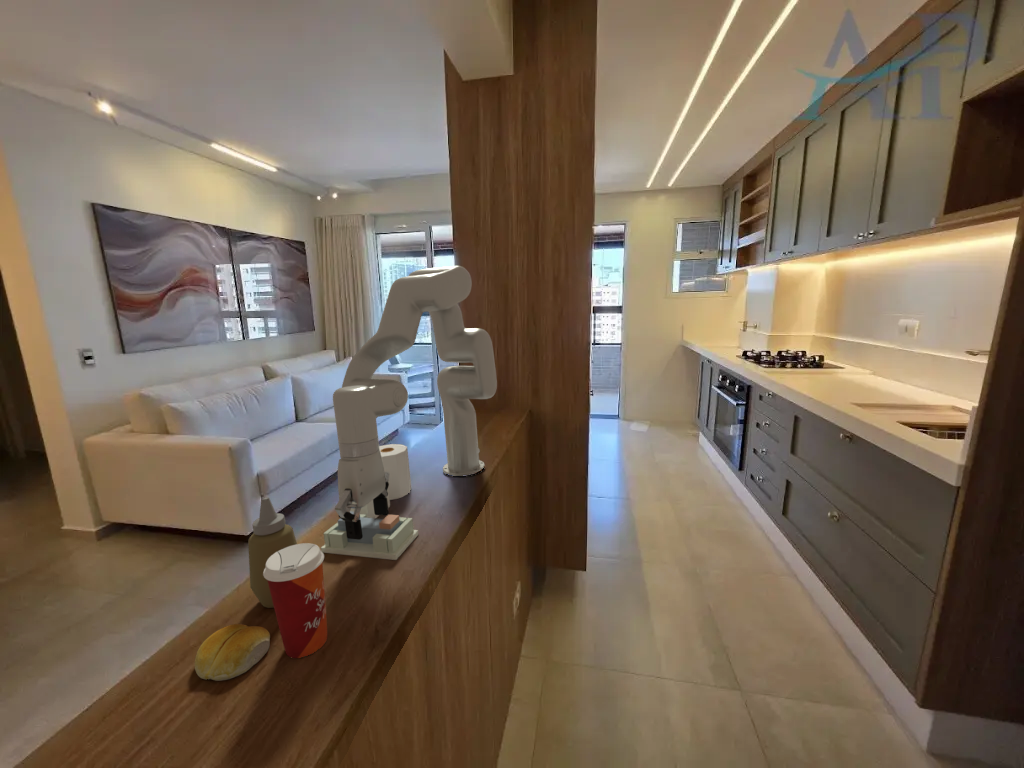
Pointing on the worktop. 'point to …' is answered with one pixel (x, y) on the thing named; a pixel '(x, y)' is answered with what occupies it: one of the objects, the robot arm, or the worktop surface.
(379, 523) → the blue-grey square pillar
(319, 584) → the paper cup
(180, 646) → the worktop surface
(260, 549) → the squeeze bottle
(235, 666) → the bread roll
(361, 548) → the jig
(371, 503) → the block
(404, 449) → the toilet paper
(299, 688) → the worktop surface
